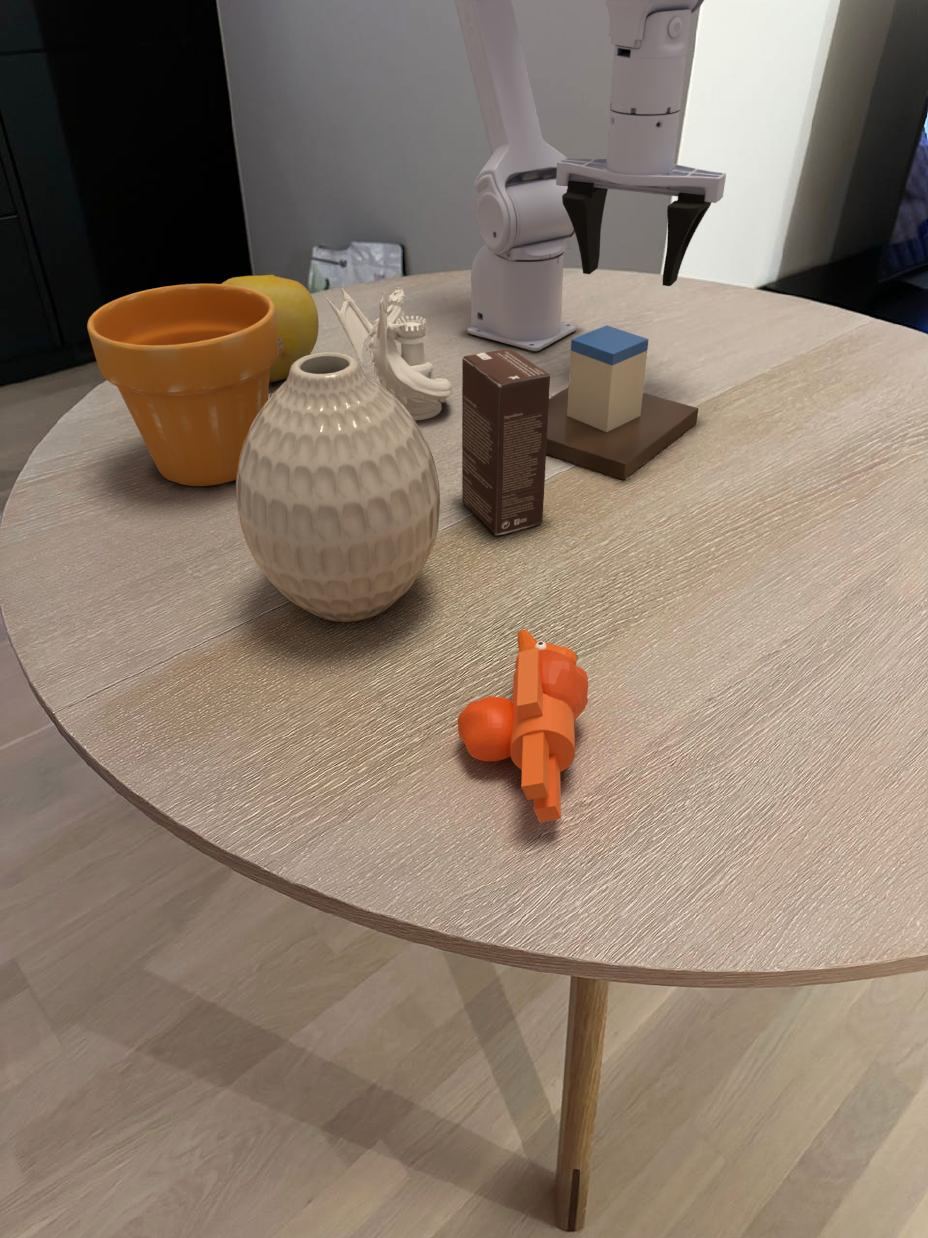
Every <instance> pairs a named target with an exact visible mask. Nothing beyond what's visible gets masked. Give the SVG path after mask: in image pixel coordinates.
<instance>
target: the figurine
mask: <svg viewBox="0 0 928 1238" xmlns="http://www.w3.org/2000/svg"><path fill="white" fill-rule="evenodd" d="M340 289H341V292H342V297H343V298H342V299H343V302H342V305H341V309H338V308H337V307H336V306H335V305H334V304H333V303H332V302H331V300H330V299H329V298H328V297H327V296H325V299H326V300H327V302H328V304H329V305H330V307H331V309H332V310H333V312H334V314H335V315H336V317H337V319H338V321H339V323H340V325H341V326H342V330H343V331H344V333H345V334H346V336H347V338H348V340H349V342H350V344H351V346H352V348H353V350H354V352H355V354H356V356H357V358H358V360H359V363H360V365H361V367H362V369H365V367H364V365H363V356H364V355H363V349H364V344H365V341H366V339H367V338H369V337H370V338H369V340H368V341H367V344H366V348H365V351H366V352H367V351H368V349H370V359H369V365H372V364H373V369H374V371H373V374H374V379H376V378H377V377H378V378H379V381H380V384H381V385H382V386H383V387H384V388H386V389H387V390H388V391H389V392H390V393H391V394H393V395H394V396H395V397H396V398H397V399H398V400H399V401H400V402H401V403H402V405H403V406H404V407H405V408H406V409H407V410H408V411H409V413H410V414H411V416H412V417H413V419H414V420H415V421H422V420H428V419H431V418H434V417H435V416H437V415H438V414H440V413H441V412H442V403H444V402H445V400H446V399H447V398H449V397H450V396H451V395H453V389H452V388H453V387H452V383H451V381H450V380H448V379H447V378H445V377H443V378H441V377H437V378H434V368H433V363H432V362H430V361H427V362H426V358H425V348H424V342H426V341H427V340H428V339H429V337H428V333H427V319H426V318H424V317H422V316H420V315H416V317H415V315H411V316H410V317H409V315H407V313H406V312H405V310H404V305H405V301H406V294H405V292H404V291H403V289H402V288H401V287H395V289H394V291H393V292H392V293H391V294H389V295H388V290H387V289H385V291H384V290H381V298H380V301H379V306H378V307H379V308H378V309H379V316H378V318H376V319H375V320H374V321H373V322H370V321H369V319H367V317H366V316H365V315H364V313H363V312H362V311H361V309H360V308H359V307H358V306H357V304H356V302H355V300H354V299H352V297H351V296H350V295H349V294H348V293H347V292H346V290H344V288H343V287H342V286H341V287H340ZM409 318H410V319H409ZM372 324H373V325H372ZM397 342H398V343H400V344H401V345H400V350H401V352H399V350H398V347H397ZM400 353H401V354H400Z"/></svg>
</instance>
